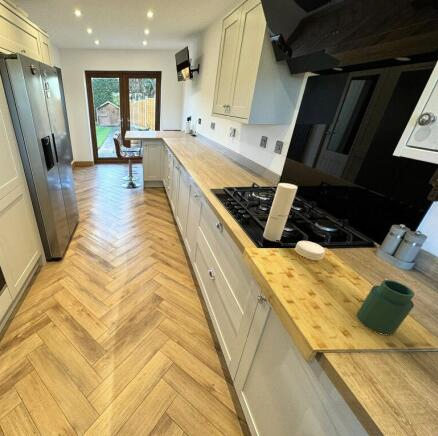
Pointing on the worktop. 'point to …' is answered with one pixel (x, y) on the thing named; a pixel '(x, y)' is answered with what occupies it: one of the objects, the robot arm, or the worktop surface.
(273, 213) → the cylindrical container
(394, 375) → the worktop surface
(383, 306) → the green jar
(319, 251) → the cream round disc
